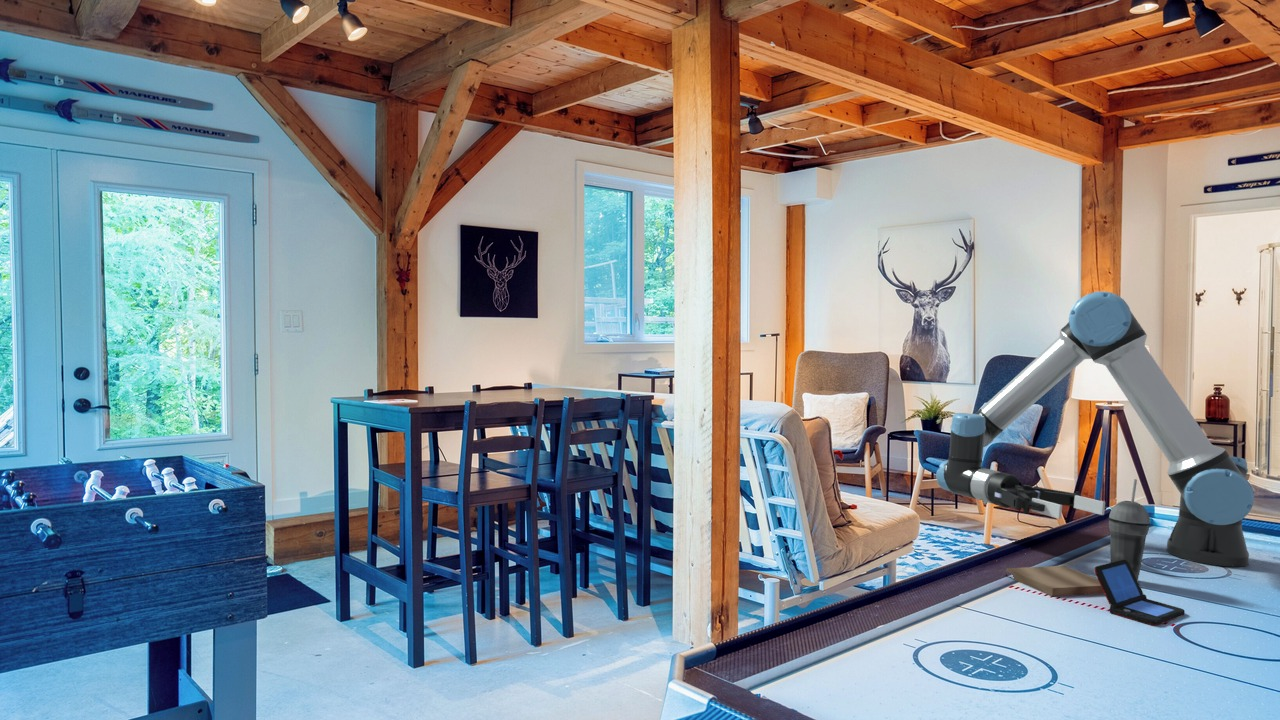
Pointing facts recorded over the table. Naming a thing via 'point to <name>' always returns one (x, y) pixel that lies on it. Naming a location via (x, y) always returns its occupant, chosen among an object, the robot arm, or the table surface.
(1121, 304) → the robot arm
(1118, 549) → the beverage cup
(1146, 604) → the handheld game console
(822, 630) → the table surface
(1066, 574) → the walnut board
